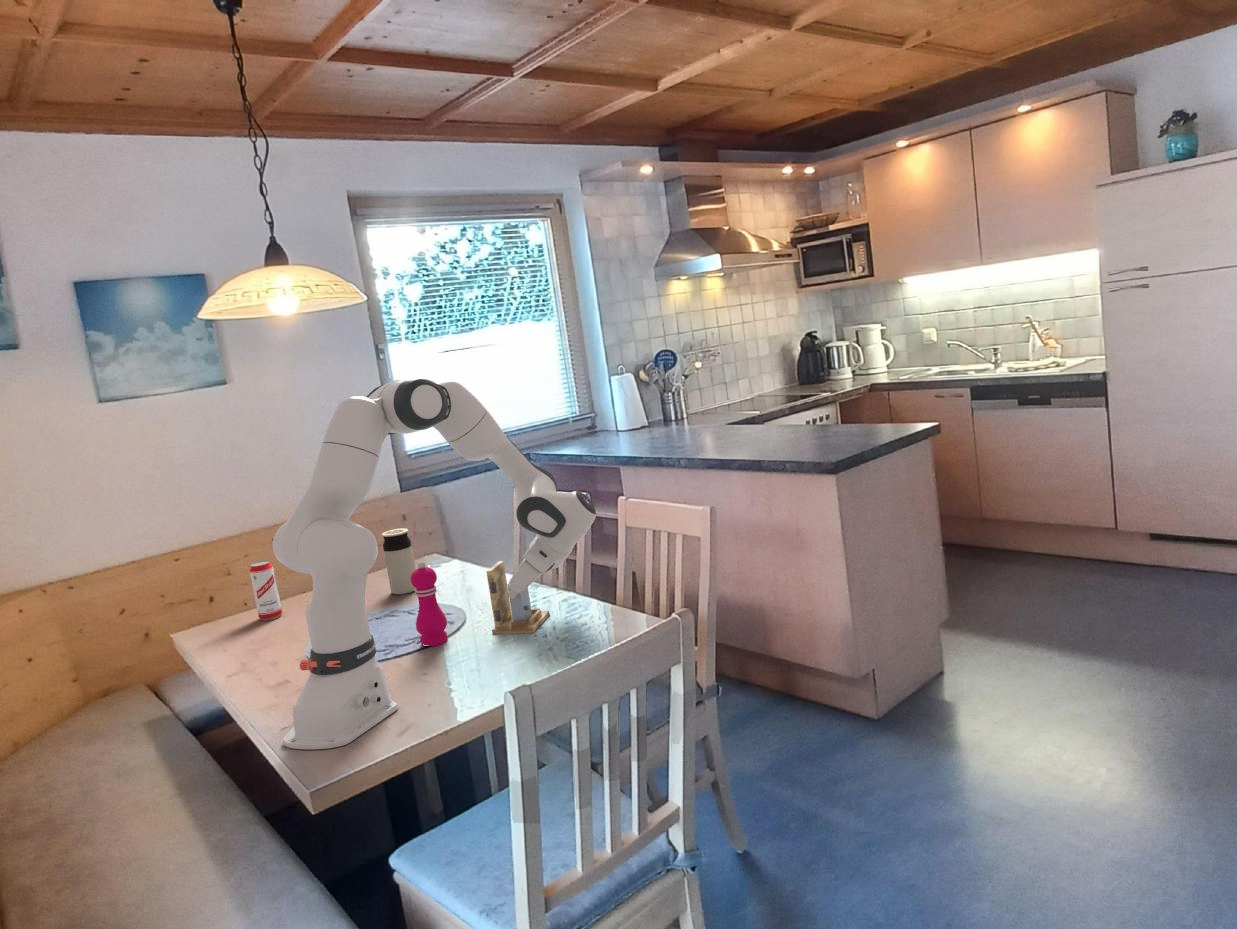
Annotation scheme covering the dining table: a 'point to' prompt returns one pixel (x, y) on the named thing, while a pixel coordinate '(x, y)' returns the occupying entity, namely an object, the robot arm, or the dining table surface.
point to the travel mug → (399, 560)
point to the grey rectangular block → (521, 606)
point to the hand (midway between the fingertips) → (516, 591)
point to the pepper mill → (428, 607)
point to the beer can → (265, 590)
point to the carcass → (508, 605)
